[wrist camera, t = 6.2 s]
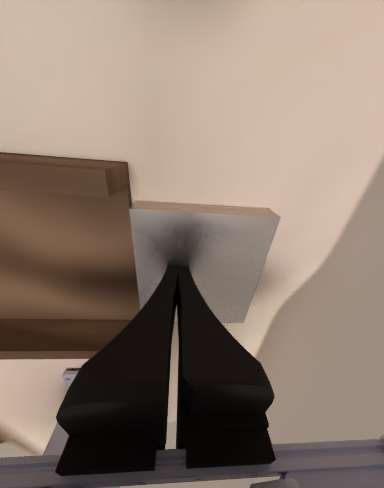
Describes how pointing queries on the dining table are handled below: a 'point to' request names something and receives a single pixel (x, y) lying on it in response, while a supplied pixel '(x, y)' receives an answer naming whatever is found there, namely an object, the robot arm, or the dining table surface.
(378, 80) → the dining table surface
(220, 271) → the cover plate
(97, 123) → the dining table surface
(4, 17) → the dining table surface
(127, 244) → the walnut box
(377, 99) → the dining table surface
